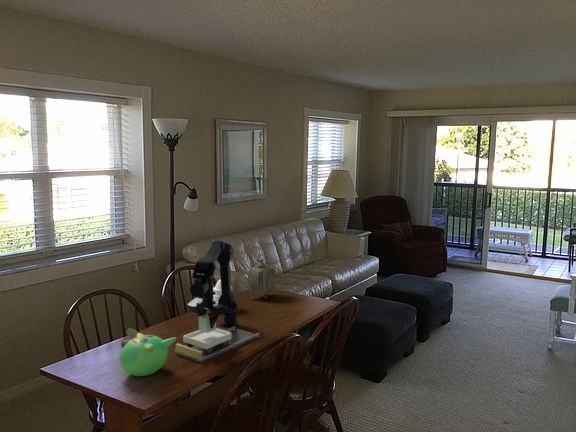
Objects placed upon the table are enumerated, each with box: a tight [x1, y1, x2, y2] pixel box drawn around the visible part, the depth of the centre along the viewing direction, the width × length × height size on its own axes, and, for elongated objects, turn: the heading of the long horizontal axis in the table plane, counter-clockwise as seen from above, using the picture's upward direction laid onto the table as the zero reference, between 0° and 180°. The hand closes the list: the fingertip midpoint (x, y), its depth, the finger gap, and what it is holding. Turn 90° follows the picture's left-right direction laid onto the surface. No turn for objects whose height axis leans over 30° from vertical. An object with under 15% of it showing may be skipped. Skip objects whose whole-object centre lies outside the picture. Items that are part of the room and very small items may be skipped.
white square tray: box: [182, 327, 232, 354], centre depth 205 cm, size 14×15×5 cm
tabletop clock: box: [247, 253, 276, 300], centre depth 276 cm, size 14×9×25 cm, turn 145°
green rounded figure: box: [119, 332, 177, 377], centre depth 183 cm, size 18×17×15 cm
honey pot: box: [213, 278, 233, 306], centre depth 257 cm, size 13×13×18 cm
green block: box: [197, 312, 217, 333], centre depth 204 cm, size 5×5×6 cm
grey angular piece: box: [120, 328, 139, 349], centre depth 207 cm, size 9×6×10 cm
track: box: [174, 326, 261, 364], centre depth 210 cm, size 16×34×4 cm, turn 141°
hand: (207, 326), depth 204 cm, fingers closed on green block, 5 cm apart
